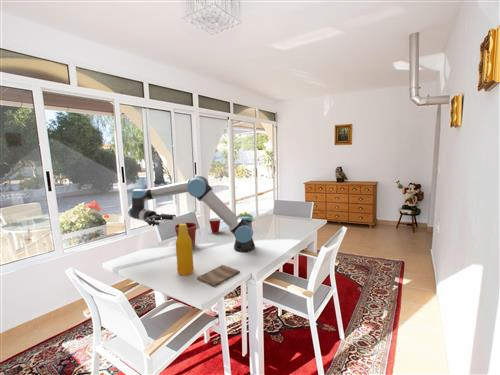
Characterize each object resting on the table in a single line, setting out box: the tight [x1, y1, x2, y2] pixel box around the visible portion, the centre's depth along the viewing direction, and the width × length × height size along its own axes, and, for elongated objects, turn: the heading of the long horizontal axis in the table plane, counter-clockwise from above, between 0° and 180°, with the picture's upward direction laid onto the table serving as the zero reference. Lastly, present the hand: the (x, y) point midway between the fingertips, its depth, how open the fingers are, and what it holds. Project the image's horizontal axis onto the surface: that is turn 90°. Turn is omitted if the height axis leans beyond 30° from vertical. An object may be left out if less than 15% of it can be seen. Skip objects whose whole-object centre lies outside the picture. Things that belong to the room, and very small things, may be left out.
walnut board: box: [196, 264, 241, 288], centre depth 149 cm, size 20×14×1 cm
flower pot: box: [173, 221, 198, 248], centre depth 197 cm, size 16×16×16 cm
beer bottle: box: [175, 222, 195, 276], centre depth 153 cm, size 9×9×29 cm
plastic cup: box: [208, 217, 222, 234], centre depth 229 cm, size 11×11×12 cm
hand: (172, 222), depth 157 cm, fingers open, 13 cm apart
